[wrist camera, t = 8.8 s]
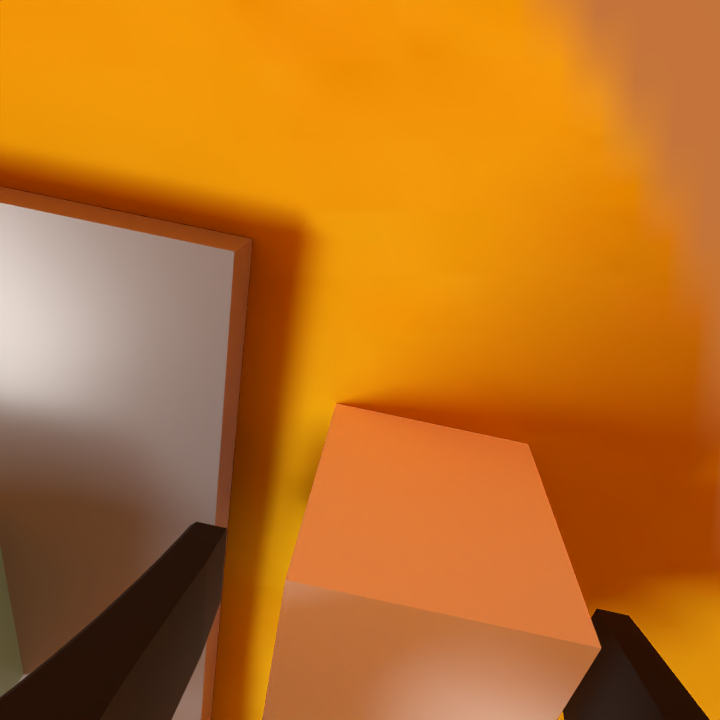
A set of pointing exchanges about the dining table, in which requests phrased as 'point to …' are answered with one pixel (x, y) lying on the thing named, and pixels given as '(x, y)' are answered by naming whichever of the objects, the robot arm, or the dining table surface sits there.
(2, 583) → the teal brick
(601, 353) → the dining table surface
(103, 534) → the baseplate
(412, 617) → the cream brick
